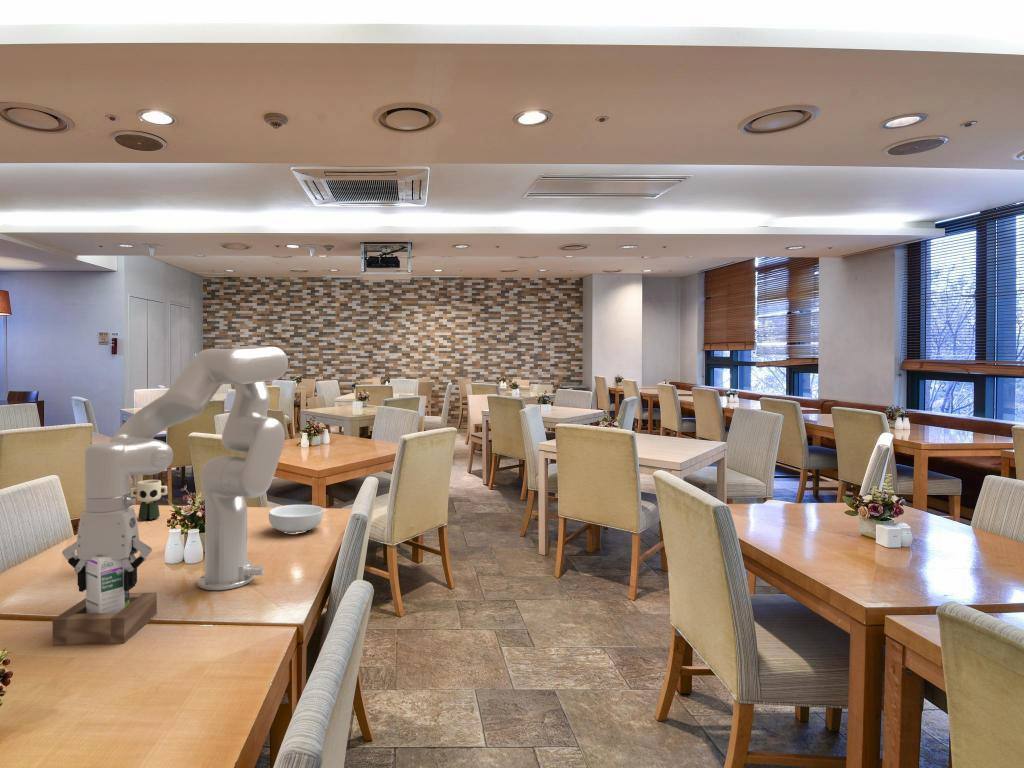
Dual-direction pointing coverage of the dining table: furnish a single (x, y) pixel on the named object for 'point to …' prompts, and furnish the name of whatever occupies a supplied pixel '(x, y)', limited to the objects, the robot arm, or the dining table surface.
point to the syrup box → (105, 585)
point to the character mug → (148, 497)
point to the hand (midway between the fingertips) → (107, 588)
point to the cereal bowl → (295, 517)
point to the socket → (104, 622)
